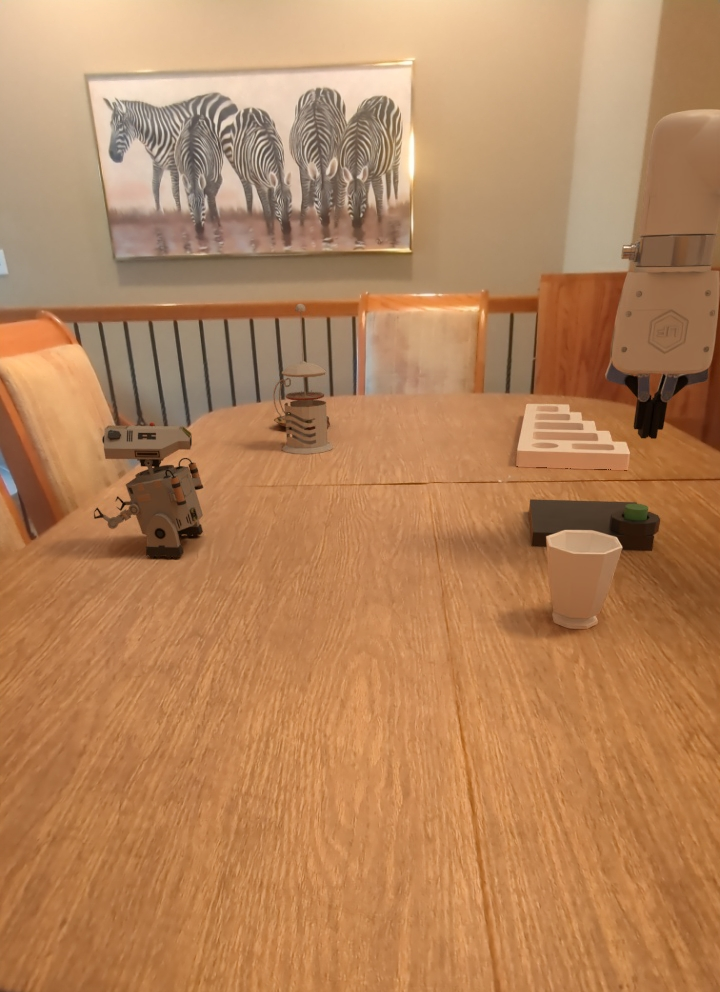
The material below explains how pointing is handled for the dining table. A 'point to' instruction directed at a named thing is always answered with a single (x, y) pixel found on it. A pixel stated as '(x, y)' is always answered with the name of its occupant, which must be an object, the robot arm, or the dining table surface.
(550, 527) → the scale
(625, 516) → the scale button
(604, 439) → the holder
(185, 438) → the figurine
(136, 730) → the dining table surface
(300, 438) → the french press
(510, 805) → the dining table surface
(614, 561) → the cup
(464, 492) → the dining table surface
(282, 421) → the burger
